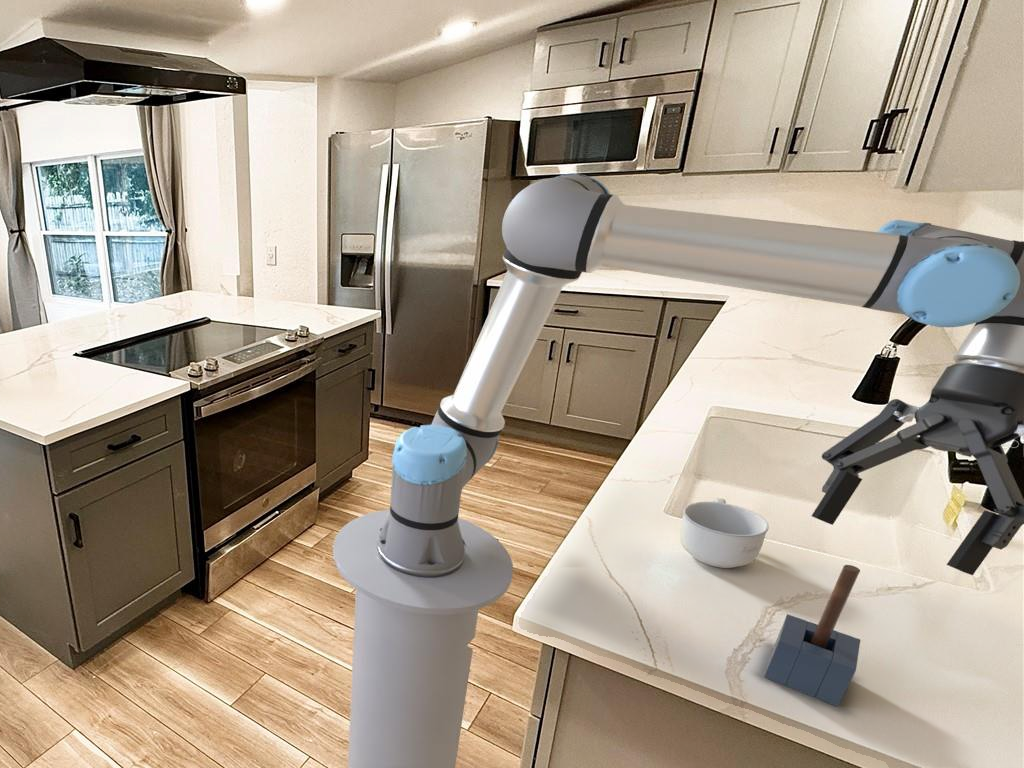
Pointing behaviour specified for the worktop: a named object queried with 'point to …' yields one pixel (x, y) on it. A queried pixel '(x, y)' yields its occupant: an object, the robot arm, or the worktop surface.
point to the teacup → (722, 533)
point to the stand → (813, 661)
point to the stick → (835, 605)
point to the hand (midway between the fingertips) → (884, 543)
